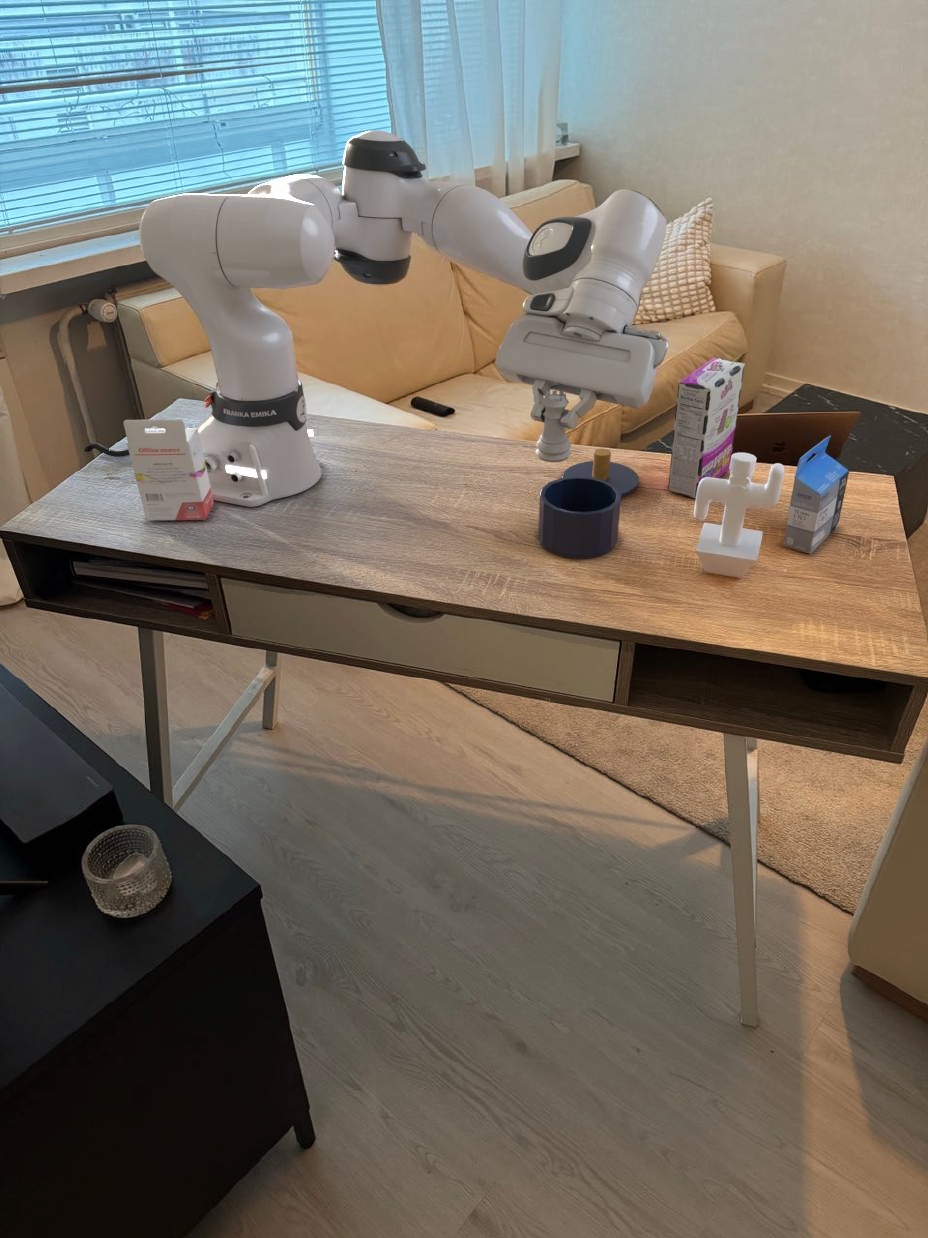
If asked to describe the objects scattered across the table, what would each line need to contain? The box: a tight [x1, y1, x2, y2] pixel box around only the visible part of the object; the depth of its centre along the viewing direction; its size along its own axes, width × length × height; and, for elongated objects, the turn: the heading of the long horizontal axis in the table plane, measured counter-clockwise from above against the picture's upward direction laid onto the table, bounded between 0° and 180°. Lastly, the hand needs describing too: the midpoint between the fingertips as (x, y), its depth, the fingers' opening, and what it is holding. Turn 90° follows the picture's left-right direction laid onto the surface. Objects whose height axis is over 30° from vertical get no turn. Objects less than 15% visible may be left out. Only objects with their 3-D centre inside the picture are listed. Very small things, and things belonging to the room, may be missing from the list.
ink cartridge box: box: [123, 418, 215, 521], centre depth 124 cm, size 9×5×15 cm, turn 88°
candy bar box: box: [667, 357, 746, 500], centre depth 128 cm, size 11×5×16 cm, turn 143°
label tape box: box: [783, 435, 850, 555], centre depth 116 cm, size 9×4×12 cm, turn 139°
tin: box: [538, 476, 622, 560], centre depth 119 cm, size 10×10×6 cm
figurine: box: [693, 452, 786, 579], centre depth 110 cm, size 7×9×15 cm
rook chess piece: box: [535, 390, 572, 463], centre depth 112 cm, size 4×4×8 cm
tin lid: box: [561, 448, 640, 497], centre depth 132 cm, size 11×11×5 cm
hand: (551, 423), depth 111 cm, fingers closed on rook chess piece, 3 cm apart
